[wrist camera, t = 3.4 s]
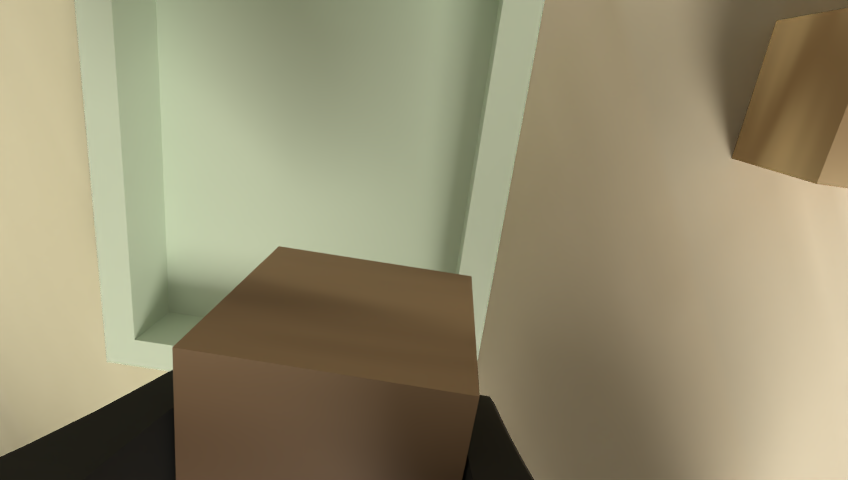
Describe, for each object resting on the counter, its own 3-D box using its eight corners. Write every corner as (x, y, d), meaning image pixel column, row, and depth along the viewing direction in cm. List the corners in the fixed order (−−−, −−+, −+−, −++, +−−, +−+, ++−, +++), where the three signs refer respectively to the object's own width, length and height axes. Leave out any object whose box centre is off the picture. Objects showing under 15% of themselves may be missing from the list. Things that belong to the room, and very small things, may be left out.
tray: (466, 371, 18) (467, 416, 16) (153, 324, 19) (106, 361, 16) (541, -50, 14) (559, -78, 12) (130, -103, 14) (62, -140, 12)
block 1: (441, 434, 11) (433, 614, 8) (271, 407, 11) (177, 571, 8) (471, 276, 10) (479, 396, 6) (279, 246, 10) (171, 347, 6)
